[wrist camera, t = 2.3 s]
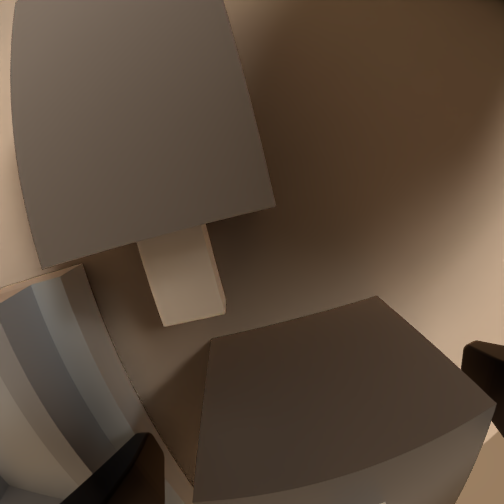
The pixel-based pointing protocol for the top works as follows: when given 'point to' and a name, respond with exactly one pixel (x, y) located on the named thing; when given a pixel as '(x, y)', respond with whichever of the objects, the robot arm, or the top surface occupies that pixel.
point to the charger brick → (337, 414)
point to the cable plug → (135, 138)
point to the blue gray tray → (64, 393)
